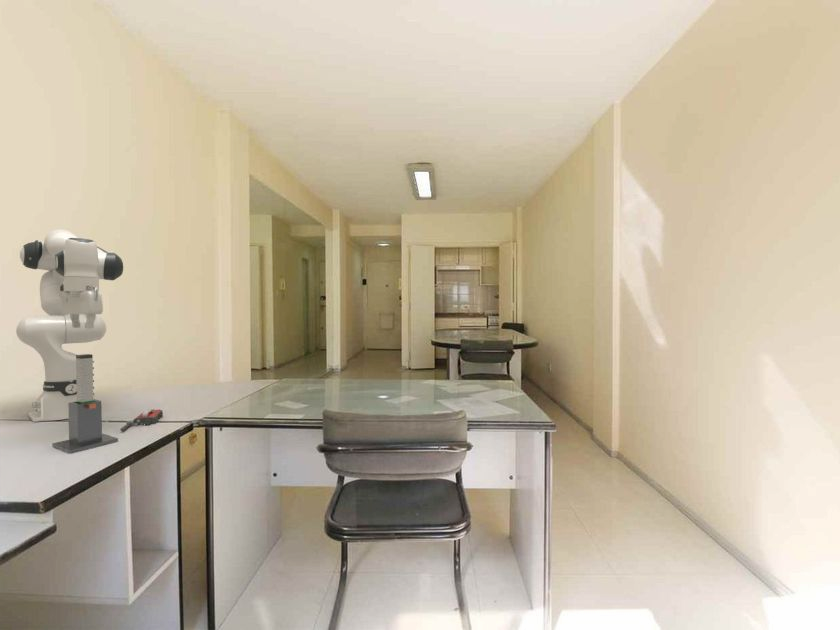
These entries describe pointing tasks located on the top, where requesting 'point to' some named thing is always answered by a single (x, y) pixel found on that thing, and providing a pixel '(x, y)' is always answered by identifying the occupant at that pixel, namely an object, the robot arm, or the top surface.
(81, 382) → the column
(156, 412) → the walkie-talkie
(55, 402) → the robot arm
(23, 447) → the top surface
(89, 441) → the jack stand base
